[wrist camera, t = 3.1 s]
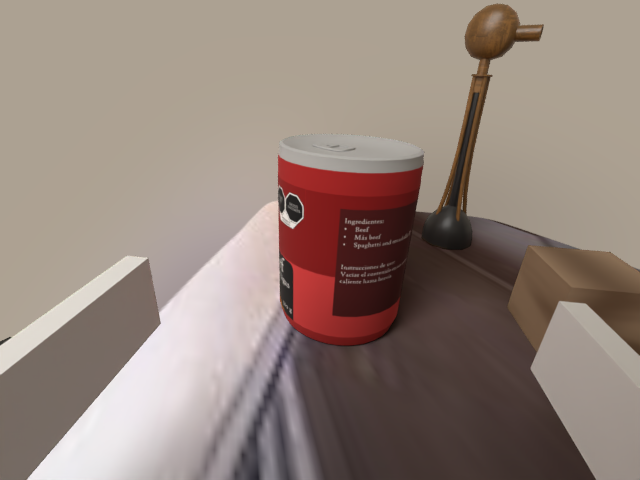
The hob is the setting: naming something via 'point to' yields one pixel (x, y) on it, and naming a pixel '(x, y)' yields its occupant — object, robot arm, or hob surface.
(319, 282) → the canned food
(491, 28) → the wooden tabletop sculpture
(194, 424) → the hob surface
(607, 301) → the walnut block
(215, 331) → the hob surface
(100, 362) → the robot arm
